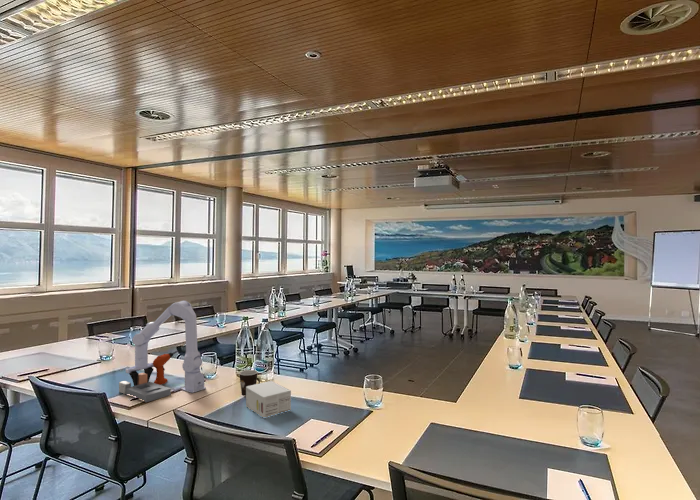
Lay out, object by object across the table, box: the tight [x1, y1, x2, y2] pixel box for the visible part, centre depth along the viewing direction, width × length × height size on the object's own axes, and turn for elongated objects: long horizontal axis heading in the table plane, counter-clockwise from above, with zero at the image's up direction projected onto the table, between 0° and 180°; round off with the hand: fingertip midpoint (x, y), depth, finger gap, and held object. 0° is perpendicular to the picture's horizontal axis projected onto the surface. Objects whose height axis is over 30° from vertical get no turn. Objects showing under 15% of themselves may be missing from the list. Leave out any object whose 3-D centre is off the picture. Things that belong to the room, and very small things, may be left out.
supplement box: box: [245, 380, 292, 418], centre depth 178 cm, size 17×13×9 cm
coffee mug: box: [238, 369, 261, 396], centre depth 197 cm, size 12×9×10 cm
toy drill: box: [152, 350, 179, 386], centre depth 218 cm, size 5×19×15 cm, turn 166°
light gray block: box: [118, 380, 132, 395], centre depth 199 cm, size 6×3×5 cm, turn 55°
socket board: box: [126, 381, 172, 403], centre depth 196 cm, size 18×12×3 cm, turn 55°
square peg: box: [138, 372, 147, 385], centre depth 205 cm, size 4×4×7 cm
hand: (141, 384), depth 205 cm, fingers open, 5 cm apart
